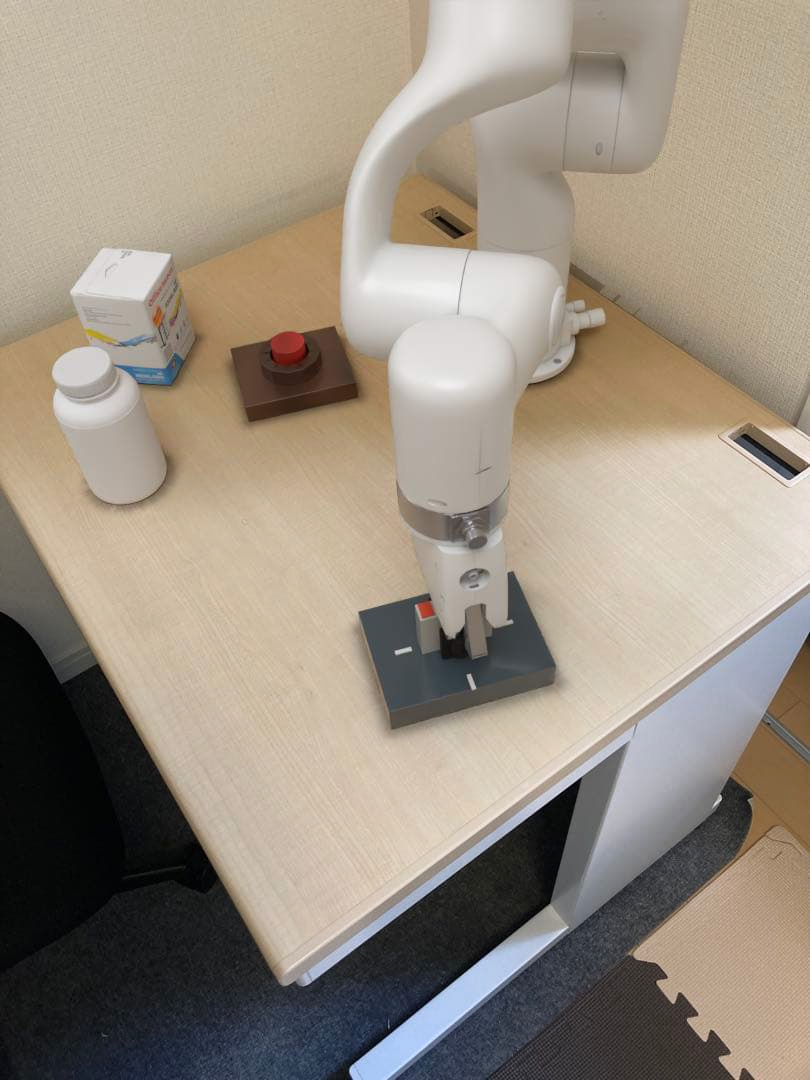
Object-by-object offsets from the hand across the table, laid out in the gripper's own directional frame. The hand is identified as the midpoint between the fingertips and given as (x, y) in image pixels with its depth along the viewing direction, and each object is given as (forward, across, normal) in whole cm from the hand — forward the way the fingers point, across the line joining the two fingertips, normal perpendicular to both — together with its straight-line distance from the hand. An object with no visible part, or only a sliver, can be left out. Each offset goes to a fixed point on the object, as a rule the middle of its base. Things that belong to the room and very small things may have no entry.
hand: (454, 637), depth 75 cm
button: (0, +39, +6) cm, 40 cm away
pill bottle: (+3, +30, +25) cm, 39 cm away
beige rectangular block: (0, 0, 0) cm, 0 cm away
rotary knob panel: (+3, 0, 0) cm, 3 cm away
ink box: (+3, +48, +21) cm, 53 cm away
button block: (+3, +39, +6) cm, 40 cm away
